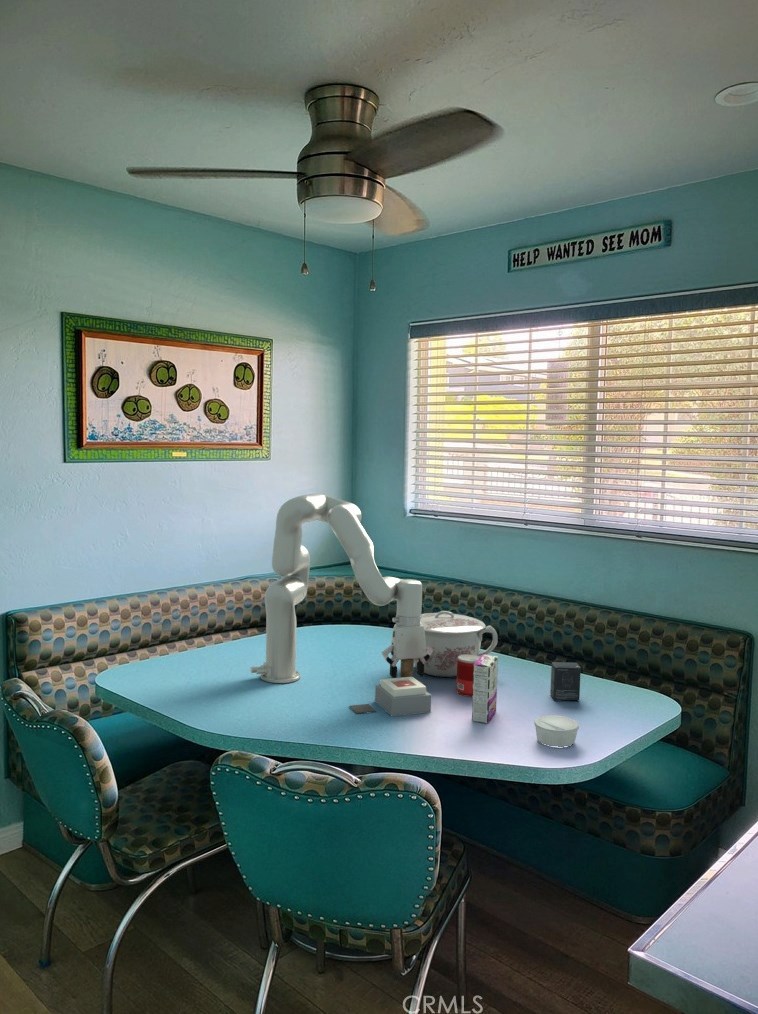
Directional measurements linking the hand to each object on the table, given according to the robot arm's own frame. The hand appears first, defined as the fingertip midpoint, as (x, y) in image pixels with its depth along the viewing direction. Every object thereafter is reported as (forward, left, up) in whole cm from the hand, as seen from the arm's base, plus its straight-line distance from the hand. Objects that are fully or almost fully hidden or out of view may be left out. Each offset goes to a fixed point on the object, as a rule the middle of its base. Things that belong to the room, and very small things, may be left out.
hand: (406, 676), depth 239 cm
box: (+45, -18, -5) cm, 49 cm away
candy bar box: (+13, -25, -5) cm, 29 cm away
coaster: (-18, -10, -5) cm, 21 cm away
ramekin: (+22, -47, -5) cm, 52 cm away
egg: (-6, -11, -2) cm, 13 cm away
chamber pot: (+21, +17, -5) cm, 28 cm away
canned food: (+19, -5, -5) cm, 20 cm away
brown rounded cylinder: (0, 0, -5) cm, 5 cm away
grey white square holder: (-6, -11, -5) cm, 14 cm away
